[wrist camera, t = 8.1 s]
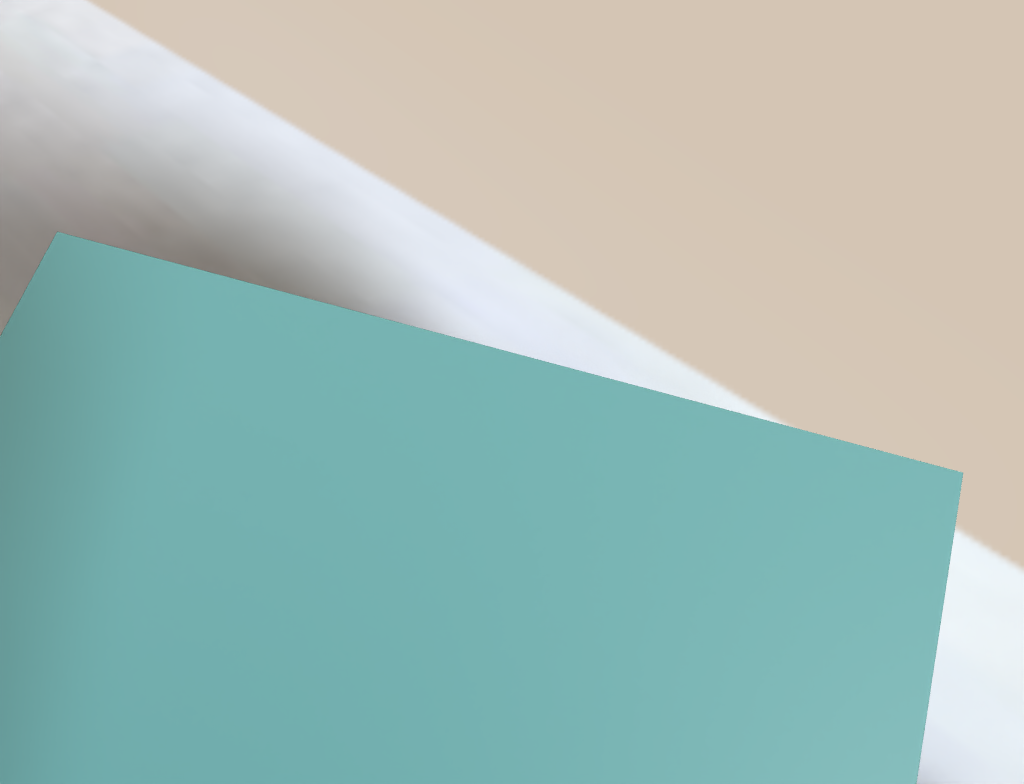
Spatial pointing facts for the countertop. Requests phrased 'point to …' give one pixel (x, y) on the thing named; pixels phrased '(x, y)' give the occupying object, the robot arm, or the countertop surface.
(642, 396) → the column
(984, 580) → the countertop surface
